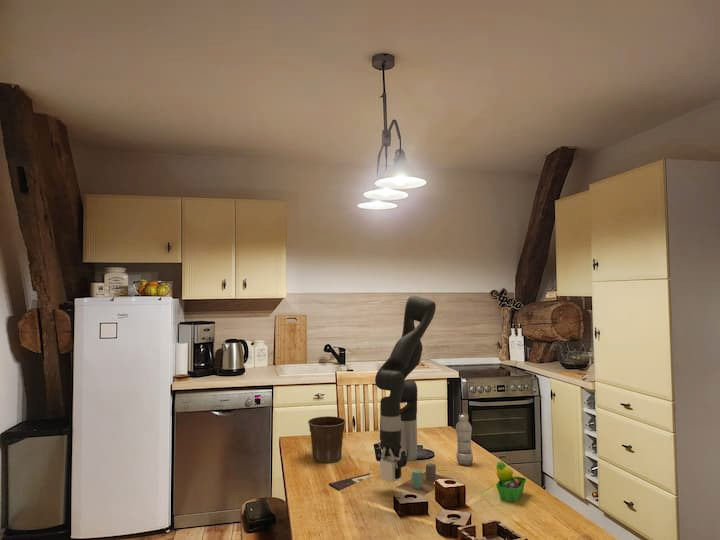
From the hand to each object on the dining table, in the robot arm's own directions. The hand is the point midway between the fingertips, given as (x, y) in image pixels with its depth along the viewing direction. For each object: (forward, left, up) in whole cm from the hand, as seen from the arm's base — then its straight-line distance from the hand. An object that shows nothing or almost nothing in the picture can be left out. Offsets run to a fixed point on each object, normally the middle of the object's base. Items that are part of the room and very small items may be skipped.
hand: (391, 476), depth 179 cm
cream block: (0, 0, -1) cm, 1 cm away
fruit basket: (+33, +24, -7) cm, 41 cm away
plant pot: (-45, +15, -7) cm, 48 cm away
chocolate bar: (-17, +1, -7) cm, 19 cm away
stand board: (+5, +14, -7) cm, 16 cm away
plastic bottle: (+5, +44, -7) cm, 45 cm away
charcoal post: (+5, +18, -5) cm, 20 cm away
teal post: (+5, +9, -5) cm, 12 cm away
